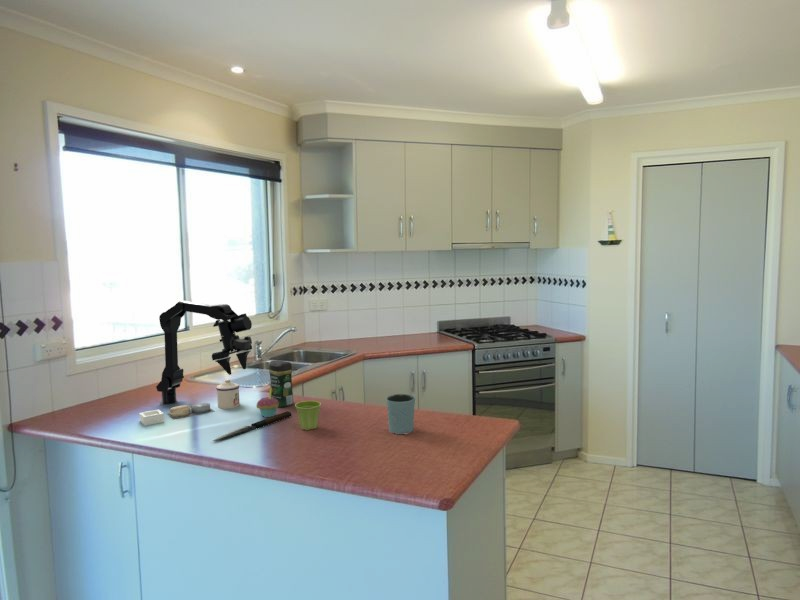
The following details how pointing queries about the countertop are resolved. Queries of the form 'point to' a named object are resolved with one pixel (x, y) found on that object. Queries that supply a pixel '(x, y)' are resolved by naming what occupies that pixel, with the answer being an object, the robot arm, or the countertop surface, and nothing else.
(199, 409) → the grey puck
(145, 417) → the open white box
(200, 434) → the countertop surface
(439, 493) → the countertop surface
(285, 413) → the kitchen knife
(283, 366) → the coffee jar
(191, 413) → the mat
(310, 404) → the plant pot
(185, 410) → the cork lid
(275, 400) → the cupcake
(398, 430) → the blue cup
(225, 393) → the teacup with lid
